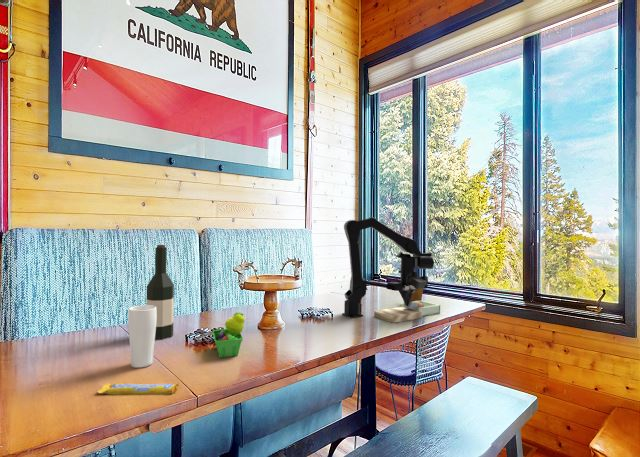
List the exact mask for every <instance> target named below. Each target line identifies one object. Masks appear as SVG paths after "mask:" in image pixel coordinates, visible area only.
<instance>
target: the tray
mask: <svg viewBox="0 0 640 457" xmlns="http://www.w3.org/2000/svg"><path fill="white" fill-rule="evenodd" d="M416 302H418V303H422V304H424V307H421V308H418V311H420V312H422V317H426V316H432V315H439V314H440V313H441V304H437V303H433V302H429V301H425V300H421V301H414V303H416ZM403 306H404V302H400V303H399V307H403Z"/></svg>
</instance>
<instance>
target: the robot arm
mask: <svg viewBox="0 0 640 457" xmlns="http://www.w3.org/2000/svg"><path fill="white" fill-rule="evenodd" d="M369 228H371V229H373V230H375V232H377V233H379V234H381V235H382V236H384V237H386V238H387V239H388V240H390V241H392V243H394V245H396V247H397V248H399V249H400V251H399V253H397V255H395V257H396V258H398V259H400V270H398V274H400V279H398V282H397V281H388V282H386V286H385V287H386V290H390V291H396V292H399V294H400V296H401V298H402V301H403V303H405V305H406V306H408V305H409V302H410V299H411V297H412V295H413V293H414V292H415V291H417V289H419V288H422V289H423V290H424V289H428V283H429V276H426V275H422V276H419V275H418V272H417V271H416V267H417V269H419V270H432V269H434V265H435V261H434V257H433V253H432V252H421V251H420V249H419V248H418V243H417V241H415V240H414V239H413V238H411V237H408V236H405V235H402V234H400V233H398V232H396V231H395V230H394V229H392V228H390V227H389V226H387V225H385V224H384V223H383V222H380V221H379V220H378V219H377V218H376V217H368V218H365V219H360V220H355V219H349V220H347V221H346V222H345V223H344V224H343V230H344V234H345V236H346V239H347V243H348V251H349V252H348V253H349V263H350V274H351V275H350V282H349V288H348V290H347V291H346V292H345V293H344V297H345V300H344V306H343V307H344V312H343V313H341V315H343V316H345V317H347V318H349V319H352V318H360V317H363V316H364V315H363V314H362V299H363V298H364V297H365V295H366V294H367V291H368V287H367V284H368V283H367V279H365V278H364V277H363V276H362V269H361V268H362V266H361V258H360V248H359V246H360V245H359V240H360V239H359V238H360V235H361V234H360V233H361V230H367V229H369ZM403 252H405V253H403ZM413 255H414V256H413ZM415 288H416V289H415Z"/></svg>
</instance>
